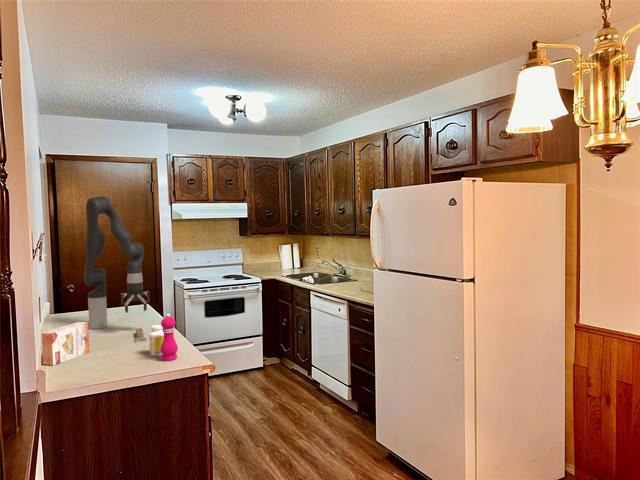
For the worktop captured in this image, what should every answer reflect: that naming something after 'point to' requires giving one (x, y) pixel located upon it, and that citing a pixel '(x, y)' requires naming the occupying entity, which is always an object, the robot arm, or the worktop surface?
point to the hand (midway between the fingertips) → (136, 311)
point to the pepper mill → (168, 339)
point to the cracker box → (65, 343)
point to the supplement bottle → (156, 340)
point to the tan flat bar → (140, 335)
